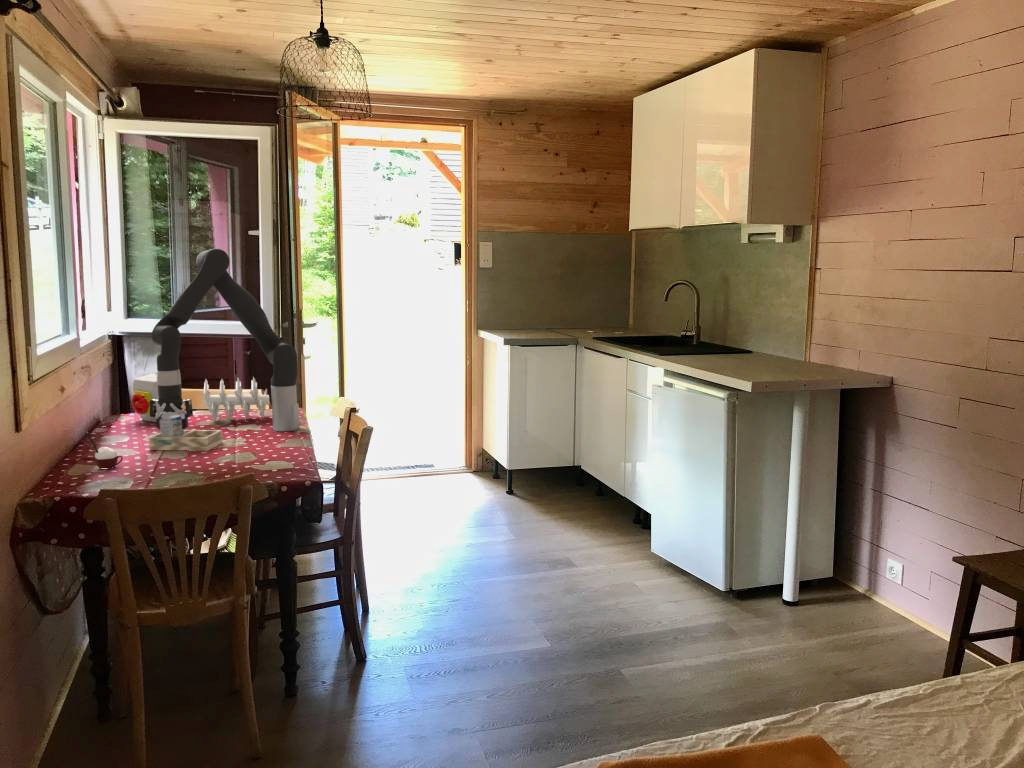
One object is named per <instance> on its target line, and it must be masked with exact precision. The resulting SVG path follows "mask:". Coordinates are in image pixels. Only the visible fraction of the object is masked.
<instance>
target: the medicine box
mask: <svg viewBox="0 0 1024 768" xmlns="http://www.w3.org/2000/svg"><path fill="white" fill-rule="evenodd" d="M181 419H182V418H181V416H180V415H172V416H169V417H166V418H163V419H161V420H160V429H159V431H160V432H159V433H161V437H179V436H181V435H183V434H184V430H185V429H182V421H181Z"/></svg>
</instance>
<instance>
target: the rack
mask: <svg viewBox="0 0 1024 768" xmlns="http://www.w3.org/2000/svg"><path fill="white" fill-rule="evenodd" d="M148 442H149V443H148V444H149V451H150V450H187V451H186V452H208V451H210V450H212V449H213V448H215V447H217V446H219V445H220V444H223V430H222V429H221V430H220V429H219V430H218V429H217V430H216V429H201V430H200V429H184V434H183V435H181V436H179V437H161V432H159V433H156V434H154V435H151V436H150V437H148ZM188 450H189V451H188Z"/></svg>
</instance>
